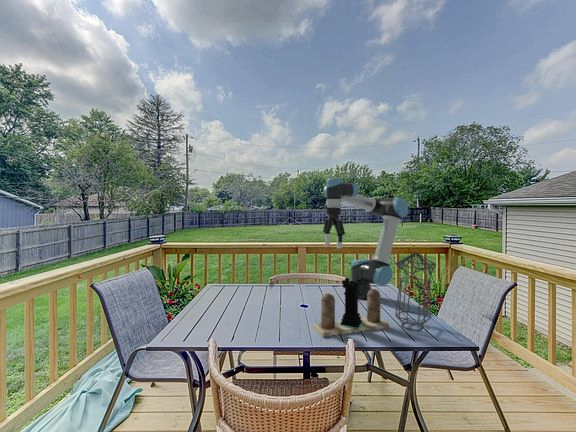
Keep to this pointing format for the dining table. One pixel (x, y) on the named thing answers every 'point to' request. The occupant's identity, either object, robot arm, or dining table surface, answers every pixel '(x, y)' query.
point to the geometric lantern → (419, 288)
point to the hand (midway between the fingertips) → (333, 246)
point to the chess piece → (351, 303)
